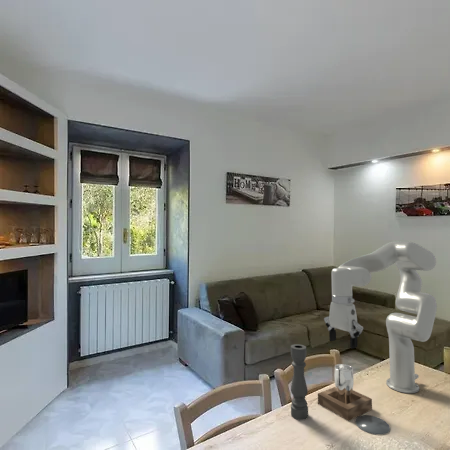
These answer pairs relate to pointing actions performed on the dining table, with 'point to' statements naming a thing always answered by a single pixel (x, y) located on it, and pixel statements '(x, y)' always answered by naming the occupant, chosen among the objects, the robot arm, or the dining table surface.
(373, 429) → the coaster
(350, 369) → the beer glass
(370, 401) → the frame
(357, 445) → the dining table surface
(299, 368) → the candle holder
